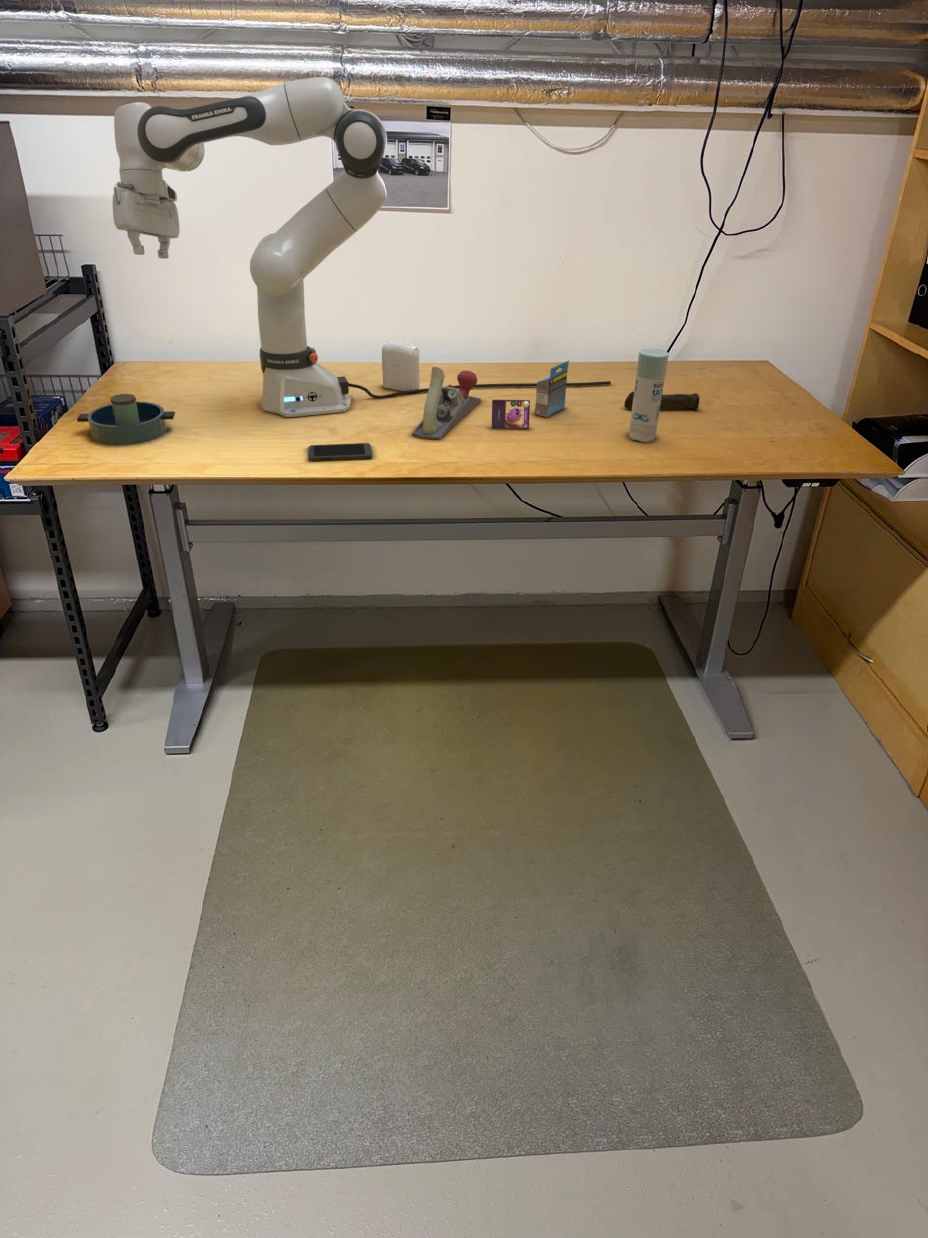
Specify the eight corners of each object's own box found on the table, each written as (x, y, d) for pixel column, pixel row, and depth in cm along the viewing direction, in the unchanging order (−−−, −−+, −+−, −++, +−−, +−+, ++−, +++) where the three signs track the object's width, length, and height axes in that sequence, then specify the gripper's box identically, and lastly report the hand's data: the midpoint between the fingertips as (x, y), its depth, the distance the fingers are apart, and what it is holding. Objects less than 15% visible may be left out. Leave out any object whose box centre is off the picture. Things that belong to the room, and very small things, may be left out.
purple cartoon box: (492, 399, 204) (530, 400, 204) (491, 399, 209) (528, 400, 209) (491, 428, 205) (529, 429, 206) (490, 428, 210) (527, 428, 211)
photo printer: (380, 388, 229) (378, 341, 223) (388, 383, 233) (387, 337, 226) (414, 394, 226) (413, 346, 219) (421, 389, 229) (421, 342, 222)
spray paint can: (649, 444, 200) (662, 358, 189) (623, 438, 203) (634, 353, 192) (659, 436, 205) (672, 351, 194) (634, 430, 208) (645, 346, 197)
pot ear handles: (175, 414, 200) (174, 411, 200) (173, 419, 197) (172, 415, 197) (80, 417, 197) (79, 413, 197) (77, 422, 195) (76, 418, 194)
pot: (171, 418, 207) (168, 400, 205) (161, 444, 193) (158, 425, 191) (100, 420, 205) (96, 402, 203) (84, 447, 191) (79, 427, 189)
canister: (143, 426, 202) (137, 393, 197) (139, 435, 197) (133, 401, 193) (119, 427, 201) (112, 393, 197) (115, 435, 197) (108, 401, 192)
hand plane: (410, 436, 201) (410, 372, 193) (457, 396, 225) (458, 338, 217) (438, 440, 199) (439, 376, 191) (482, 399, 224) (484, 341, 215)
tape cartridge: (552, 405, 221) (555, 356, 215) (565, 408, 219) (569, 359, 213) (533, 414, 215) (537, 365, 208) (547, 418, 213) (551, 368, 207)
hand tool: (694, 406, 223) (697, 388, 221) (698, 411, 220) (701, 393, 217) (622, 405, 222) (624, 388, 220) (625, 411, 219) (627, 393, 216)
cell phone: (372, 458, 189) (372, 455, 189) (308, 461, 187) (308, 457, 187) (370, 445, 195) (370, 442, 195) (308, 448, 193) (308, 444, 193)
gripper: (126, 178, 177) (136, 251, 182) (180, 194, 196) (188, 259, 201) (100, 180, 179) (110, 252, 183) (156, 196, 198) (164, 260, 202)
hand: (151, 256), depth 192 cm, fingers open, 8 cm apart
